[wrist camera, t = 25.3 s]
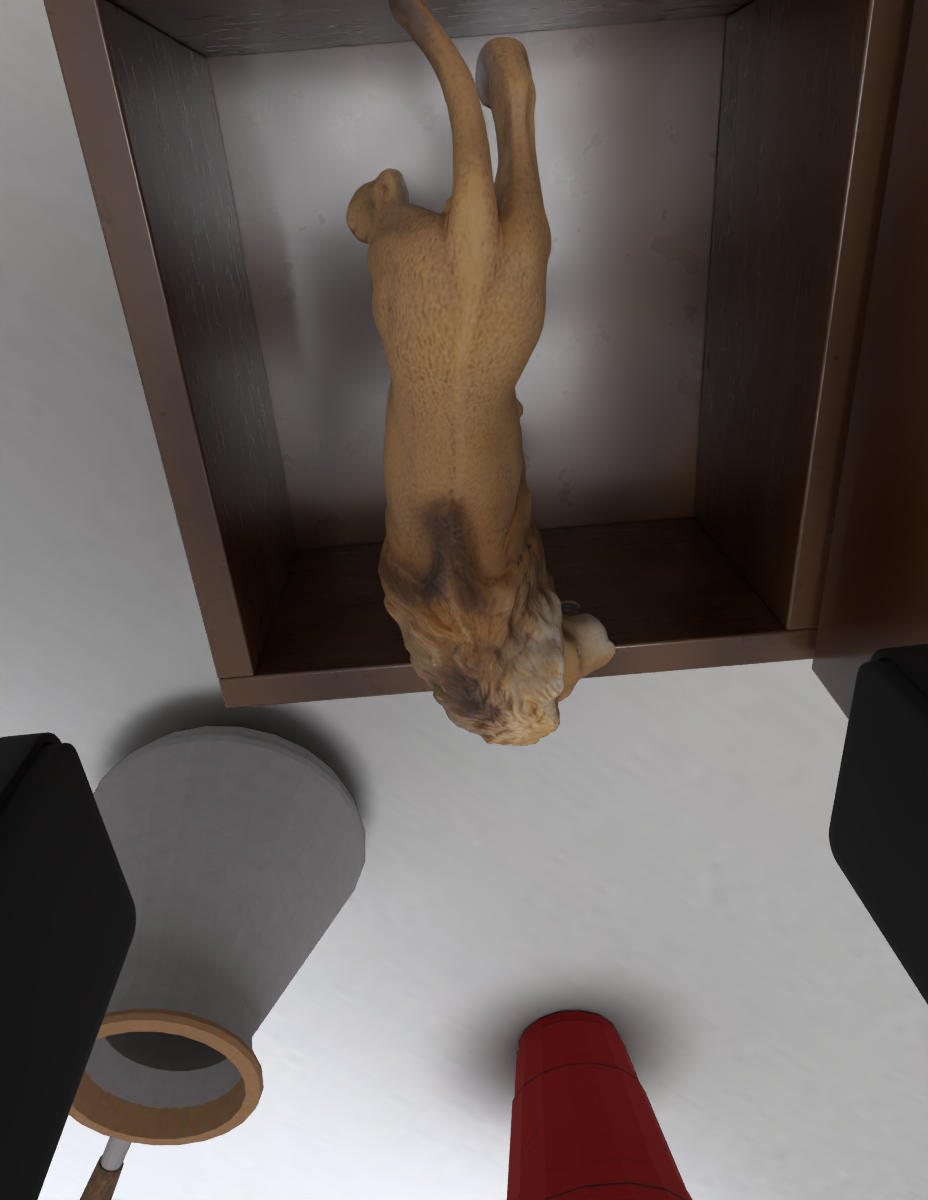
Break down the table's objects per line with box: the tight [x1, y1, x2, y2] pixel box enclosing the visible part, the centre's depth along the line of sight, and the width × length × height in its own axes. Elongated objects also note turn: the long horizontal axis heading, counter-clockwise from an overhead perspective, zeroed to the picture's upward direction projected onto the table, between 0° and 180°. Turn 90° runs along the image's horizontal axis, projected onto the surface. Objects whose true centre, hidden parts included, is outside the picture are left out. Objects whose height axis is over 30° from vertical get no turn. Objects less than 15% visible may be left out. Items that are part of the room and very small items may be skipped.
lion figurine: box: [346, 0, 615, 746], centre depth 17 cm, size 15×5×9 cm, turn 12°
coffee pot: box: [69, 726, 365, 1200], centre depth 31 cm, size 21×12×15 cm, turn 154°
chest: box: [44, 0, 915, 708], centre depth 22 cm, size 16×17×10 cm
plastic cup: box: [507, 1011, 692, 1200], centre depth 39 cm, size 11×11×12 cm
